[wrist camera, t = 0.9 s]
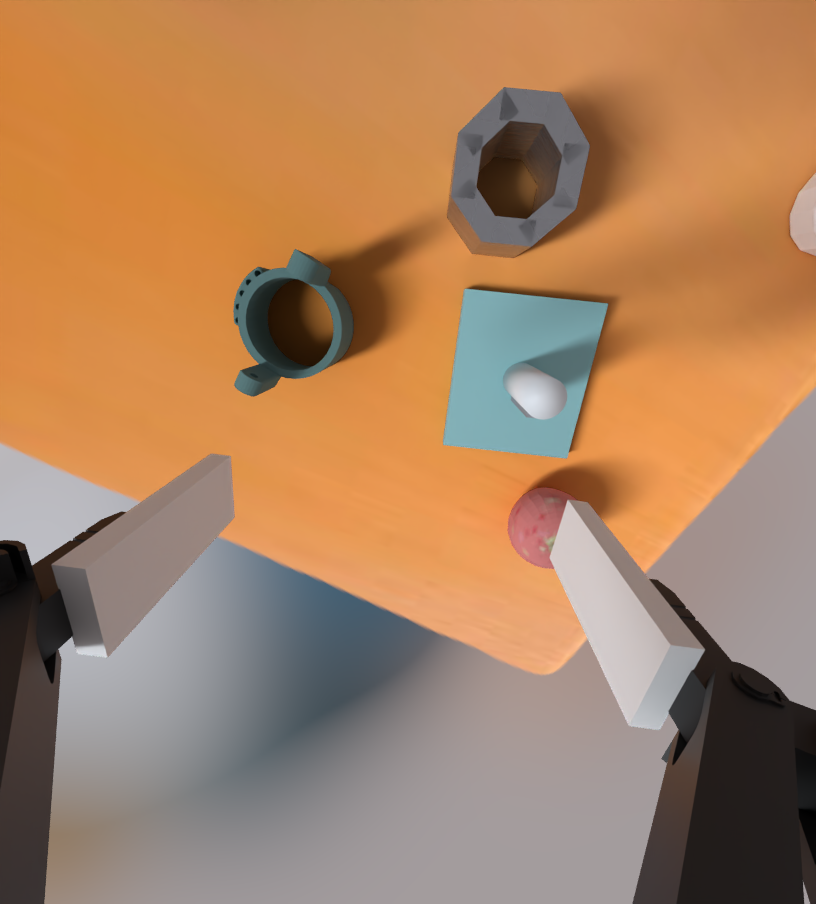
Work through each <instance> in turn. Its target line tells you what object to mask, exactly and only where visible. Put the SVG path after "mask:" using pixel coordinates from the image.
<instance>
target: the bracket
mask: <svg viewBox="0 0 816 904" xmlns="http://www.w3.org/2000/svg"><path fill="white" fill-rule="evenodd" d="M330 273H331V270H330V268H328V267H327V266H325V265H324V264H322V263H321V262H319V261H318V260H316V259H315V258H313V257H311V256H309V255H307V254H305V253H303V252H301V251H298V250H296V249H295V250H294V252H293V254H292V256H291V258H290V261H289V263H288V265H287V267H286V268H277V269H272V270H269V269H266V268H262V267H257V268H256V269H254V270H253V271H252V272H250V273H249V274H248V275H247V276H246V278H245V279H244V280H243V282H242V283H241V285H240V287H239V289H238V291H237V294H236V298H235V301H234V323H235V324H236V325H238V326H239V331H240V335H241V338H242V340H243V343H244V345H245V347H246V348H247V350H248V352H249V353H250V354H251V356H252V357H253V358H254V359H255V360H256V361H257V362H258V363H259V365H256V366H252V367H249V368H246V369H243V370H240V372H239V375H238V377H237V379H236V381H235V384H234V385H235V387H236V388H237V389H238V390H239V391H241V392H242V393H244V394H247V395H249V396H257V395H259V394H261V393H263V392H265V391H267V390H269V389H271V388H273V387H275V385H276V384H277V382H278V381H279V379H280V378H281V377H285V378H293V379H298V378H306V377H310V376H312V375H315V374H317V373H319V372H321V371H322V370H324V369H326V368H328V367H329V366H331V365H333V364H335V363H336V362H337V361H338V360H340V359H341V358H342V357H343V355H344V354H345V353H346V352H347V350H348V348H349V346H350V344H351V341H352V338H353V331H354V322H353V316H352V311H351V309H350V306H349V303H348V302H347V300H346V298H345V296H344V295H343V294H342V293H341V291H340V290H339V289H338V288H336V287H335V286H333V285H332V284H330V283H329V282H328V279H329V276H330ZM295 279H299V280H301V281H303V282H305V283H307V284H309V285H310V286H312V287H313V288H314V289H316V290H317V291H318V293H319V294H320V295H321V296H322V297H323V299H324V300H325V301H326V303H327V305H328V307H329V309H330V311H331V315H332V319H333V327H334V332H333V340H332V343H331V347H330V348H329V350H328V352H327V354H326V355H325V357H324V358H323V359H322V360H321V361H320V362H319V363H317V364H316V365H314V366H305V365H301V364H298V363H296V362H294V361H292V360H290V359H289V358H288V357H286V356H285V355H284V354H283V353H282V352H281V351H280V350H279V349H278V347H277V346H276V345H275V343H274V341H273V339H272V337H271V334H270V331H269V328H268V309H269V305H270V302H271V300H272V298H273V296H274V295H275V293H276V292H277V290H278V289H279V288H281V287H282V286H283V285H284V284H286V283H288V282H289V281H292V280H295Z"/></svg>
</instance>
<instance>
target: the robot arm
mask: <svg viewBox="0 0 816 904" xmlns="http://www.w3.org/2000/svg"><path fill="white" fill-rule="evenodd" d="M234 517H235V515H234V500H233V484H232V469H231V456H226V455H218V454H210V455H208V456H207V457H206V458H204V459H203V460H201V461H200V462H198V463H197V464H195V465H194V466H193V467H191V468H190V469H188V470H187V471H185V472H184V473H182V474H181V475H180V476H178V477H177V478H175V479H174V480H172V481H171V482H169V483H168V484H167V485H165V486H164V487H162V488H161V489H159V490H158V491H157V492H155V493H154V494H152V495H151V496H149V497H148V498H146V499H145V500H144V501H142V502H141V503H139V504H138V505H136V506H135V507H134V508H132V509H131V510H129V511H128V512H119V513H117V514H114V515H112V516H109V517H107V518H104V519H102V520H100V521H99V522H97V523H96V524H94V525H93V526H91V527H90V528H88V529H87V530H86V532H82V533H81V534H79V535H78V536H76V537H75V538H73V541H69V542H67V543H66V544H64V545H63V546H61V547H60V548H58V549H57V550H55V551H54V552H52V553H51V554H49V555H48V556H46V557H45V558H43V559H42V560H40V561H38V562H37V563H35V564H34V565H31V562H30V559H29V555H28V552H27V549H26V546H25V544H23V543H21V542H19V541H8V540H3V541H0V904H44V899H45V898H44V897H45V885H46V870H47V856H48V842H49V828H50V814H51V799H52V785H53V771H54V770H53V769H54V756H55V742H56V727H57V714H58V700H59V686H60V671H61V657H60V654H59V650H58V649H59V648H60V647H61V646H62V645H63V644H64V643H65V642H66V641H67V640H69V639H70V638H71V637H73V641H74V644H75V647H76V651H77V654H83V655H92V656H99V657H106V658H107V657H109V656H110V654H111V653H112V652H113V651H114V650H115V649H116V648H117V647H118V646H119V644H120V643H121V642H122V641H123V640H124V639H125V638H126V637H127V636H128V634H129V633H130V632H131V631H132V630H133V629H134V628H135V627H136V625H138V623H139V622H140V621H141V620H142V619H143V618H144V617H145V615H146V614H147V613H148V612H149V611H150V610H151V609H152V608H153V607H154V606H155V605H156V603H157V602H158V601H159V600H160V599H161V598H162V597H163V596H164V595H165V593H166V592H167V591H168V590H169V589H170V588H171V587H172V585H174V584H175V583H176V581H177V580H178V579H179V578H180V577H181V576H182V575H183V574H184V573H185V571H186V570H187V569H188V568H189V567H190V566H191V565H192V564H193V563H194V562H195V560H196V559H197V558H198V557H199V556H200V555H201V554H202V553H203V552H204V550H205V549H206V548H207V547H208V546H209V545H210V544H211V543H212V542H213V541H214V539H215V538H216V537H217V536H218V535H219V534H220V533H221V532H222V531H223V529H224V528H225V527H226V526H227V525H228V524H229V523H230V522H231V521H232V520H233V518H234ZM550 560H551V562H552V564H553V566H554V569H555V571H556V573H557V575H558V577H559V579H560V581H561V583H562V585H563V588H564V590H565V592H566V594H567V596H568V598H569V600H570V602H571V604H572V607H573V609H574V611H575V613H576V615H577V617H578V619H579V621H580V624H581V626H582V628H583V630H584V632H585V634H586V636H587V638H588V640H589V643H590V645H591V646H592V649H593V651H594V653H595V655H596V657H597V659H598V662H599V664H600V666H601V667H602V670H603V672H604V674H605V676H606V678H607V680H608V683H609V685H610V687H611V689H612V691H613V693H614V695H615V697H616V700H617V702H618V704H619V706H620V708H621V710H622V712H623V714H624V716H625V719H626V721H627V723H628V725H629V726H633V727H640V728H648V729H656V730H660V728H661V727H662V725H663V723H664V721H665V720H666V718H667V716H668V714H670V715H671V717H672V719H673V721H674V722H675V724H676V726H677V728H678V729H679V730H678V732H677V734H676V735H675V737H674V739H673V740H672V742H671V744H670V745H669V747H668V749H667V750H666V752H665V754H664V755H663V757H662V760H664V761H665V762H667V766H666V770H665V774H664V778H663V783H662V787H661V790H660V794H659V799H658V803H657V807H656V811H655V815H654V819H653V823H652V827H651V831H650V835H649V839H648V843H647V847H646V851H645V855H644V859H643V863H642V867H641V871H640V876H639V880H638V884H637V888H636V892H635V896H634V900H633V904H804V893H803V882H804V885H805V888H806V891H807V894H808V898H809V901H810V904H816V710H813V709H810V708H808V707H805V706H803V705H800V704H797V703H794V702H792V701H789V699H788V698H787V697H786V696H785V694H784V693H783V692H782V691H781V689H780V688H779V687H777V686H776V685H775V684H774V683H773V682H772V681H770V680H769V679H768V678H767V677H765V676H764V675H762V674H760V673H759V672H757V671H756V670H754V669H752V668H750V667H747V666H745V665H743V664H741V663H737V662H732V661H731V660H730V659H729V657H728V656H727V655H726V654H725V653H724V651H723V650H722V649H721V648H720V647H719V645H718V644H717V643H716V642H715V641H714V639H713V638H712V637H711V636H710V635H709V634H708V632H707V631H706V630H705V629H704V628H703V627H702V625H701V624H700V623H699V622H698V621H696V620H695V617H694V616H693V615H692V613H691V612H690V611H689V610H688V609H686V608H685V605H684V604H683V603H682V602H681V601H680V599H679V598H678V597H677V596H676V594H675V593H674V592H672V591H671V590H670V589H669V588H667V587H666V586H665V585H663V584H662V583H660V582H659V581H658V580H654V579H648V577H647V576H646V575H645V574H644V572H643V571H642V570H641V569H640V567H639V566H638V565H637V563H636V562H635V561H634V560H633V558H632V557H631V556H630V555H629V553H628V552H627V551H626V550H625V548H624V547H623V546H622V545H621V543H620V542H619V541H618V540H617V538H616V537H615V536H614V535H613V533H612V532H611V531H610V530H609V528H608V527H607V526H606V525H605V523H604V522H603V521H602V520H601V518H600V517H599V516H598V515H597V513H596V512H595V511H594V510H593V508H592V507H591V506H590V504H589V503H588V502H583V501H575V500H568V501H567V504H566V507H565V510H564V513H563V517H562V520H561V523H560V526H559V529H558V532H557V536H556V539H555V542H554V545H553V548H552V551H551V555H550Z"/></svg>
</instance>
